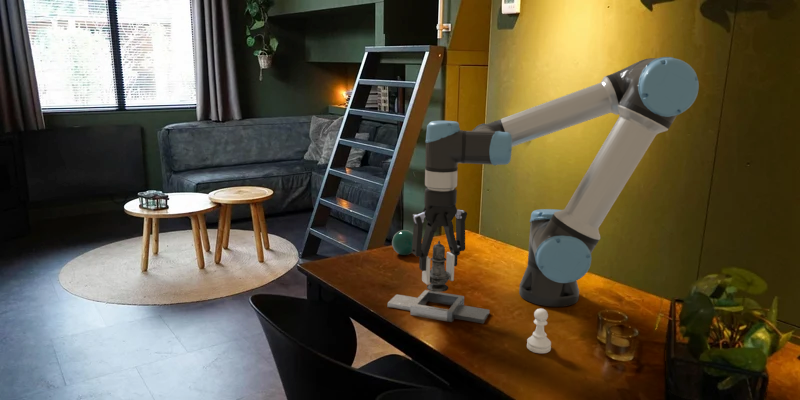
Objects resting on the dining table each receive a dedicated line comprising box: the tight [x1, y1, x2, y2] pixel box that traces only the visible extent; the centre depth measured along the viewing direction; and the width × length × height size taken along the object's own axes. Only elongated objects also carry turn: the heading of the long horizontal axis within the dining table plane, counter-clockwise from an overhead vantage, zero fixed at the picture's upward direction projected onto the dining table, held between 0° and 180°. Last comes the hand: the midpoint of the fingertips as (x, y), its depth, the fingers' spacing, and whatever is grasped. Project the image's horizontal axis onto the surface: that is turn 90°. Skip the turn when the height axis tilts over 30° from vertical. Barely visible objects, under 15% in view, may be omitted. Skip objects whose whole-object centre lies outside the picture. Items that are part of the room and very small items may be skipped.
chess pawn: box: [526, 307, 552, 354], centre depth 121 cm, size 5×5×9 cm
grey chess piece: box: [426, 240, 450, 293], centre depth 137 cm, size 6×6×12 cm
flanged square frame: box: [387, 289, 490, 324], centre depth 140 cm, size 24×10×2 cm, turn 68°
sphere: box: [391, 229, 413, 256], centre depth 180 cm, size 8×8×8 cm
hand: (437, 280), depth 138 cm, fingers closed on grey chess piece, 6 cm apart
